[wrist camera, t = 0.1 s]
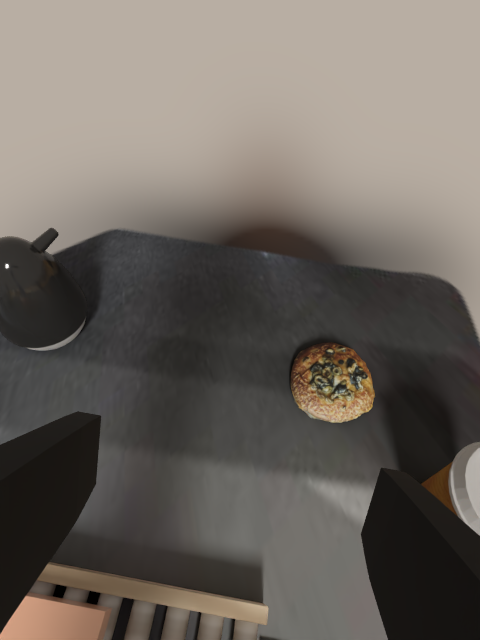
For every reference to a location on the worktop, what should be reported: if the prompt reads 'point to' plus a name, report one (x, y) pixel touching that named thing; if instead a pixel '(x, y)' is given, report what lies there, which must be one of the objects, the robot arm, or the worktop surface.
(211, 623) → the roller bed
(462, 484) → the disposable coffee cup
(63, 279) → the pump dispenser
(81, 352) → the worktop surface
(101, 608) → the slab
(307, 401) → the bread roll
